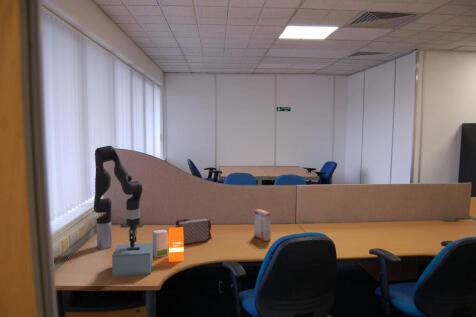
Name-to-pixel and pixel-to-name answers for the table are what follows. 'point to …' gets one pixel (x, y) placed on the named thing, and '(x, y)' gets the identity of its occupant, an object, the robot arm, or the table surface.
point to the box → (132, 259)
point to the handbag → (195, 230)
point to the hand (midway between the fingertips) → (133, 244)
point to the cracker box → (262, 224)
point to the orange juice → (176, 244)
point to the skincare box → (160, 243)
